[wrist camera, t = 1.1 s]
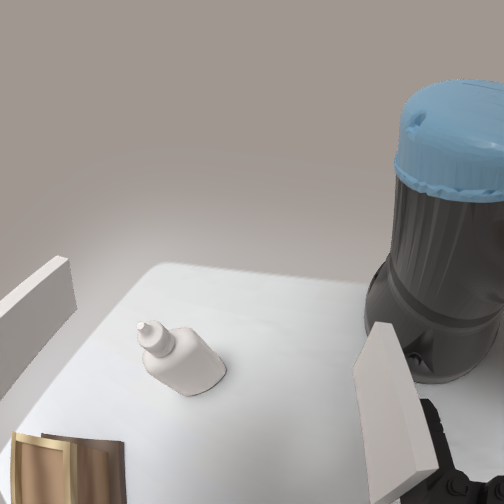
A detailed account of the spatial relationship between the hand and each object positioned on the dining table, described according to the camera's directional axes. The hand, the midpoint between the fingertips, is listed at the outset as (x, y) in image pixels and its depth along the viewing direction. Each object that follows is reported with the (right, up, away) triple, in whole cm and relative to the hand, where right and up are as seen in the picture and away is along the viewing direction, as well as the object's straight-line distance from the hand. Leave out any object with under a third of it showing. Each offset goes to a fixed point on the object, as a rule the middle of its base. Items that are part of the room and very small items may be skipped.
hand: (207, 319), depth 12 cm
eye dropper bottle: (-3, -11, +18) cm, 21 cm away
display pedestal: (-18, -25, +11) cm, 33 cm away
